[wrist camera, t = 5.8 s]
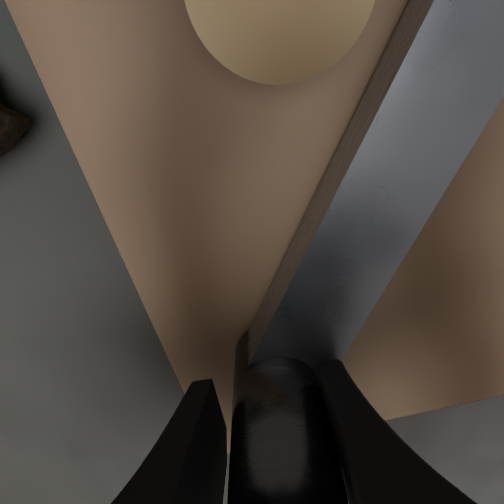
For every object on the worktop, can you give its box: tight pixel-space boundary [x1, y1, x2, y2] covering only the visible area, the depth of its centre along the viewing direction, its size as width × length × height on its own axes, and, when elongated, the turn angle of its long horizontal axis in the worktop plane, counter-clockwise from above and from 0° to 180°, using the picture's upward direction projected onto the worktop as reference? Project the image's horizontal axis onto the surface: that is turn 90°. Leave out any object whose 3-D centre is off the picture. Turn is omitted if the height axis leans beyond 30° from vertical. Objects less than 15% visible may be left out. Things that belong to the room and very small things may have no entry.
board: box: [5, 0, 504, 454], centre depth 12 cm, size 21×20×4 cm
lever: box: [227, 0, 504, 504], centre depth 10 cm, size 18×4×6 cm, turn 158°
